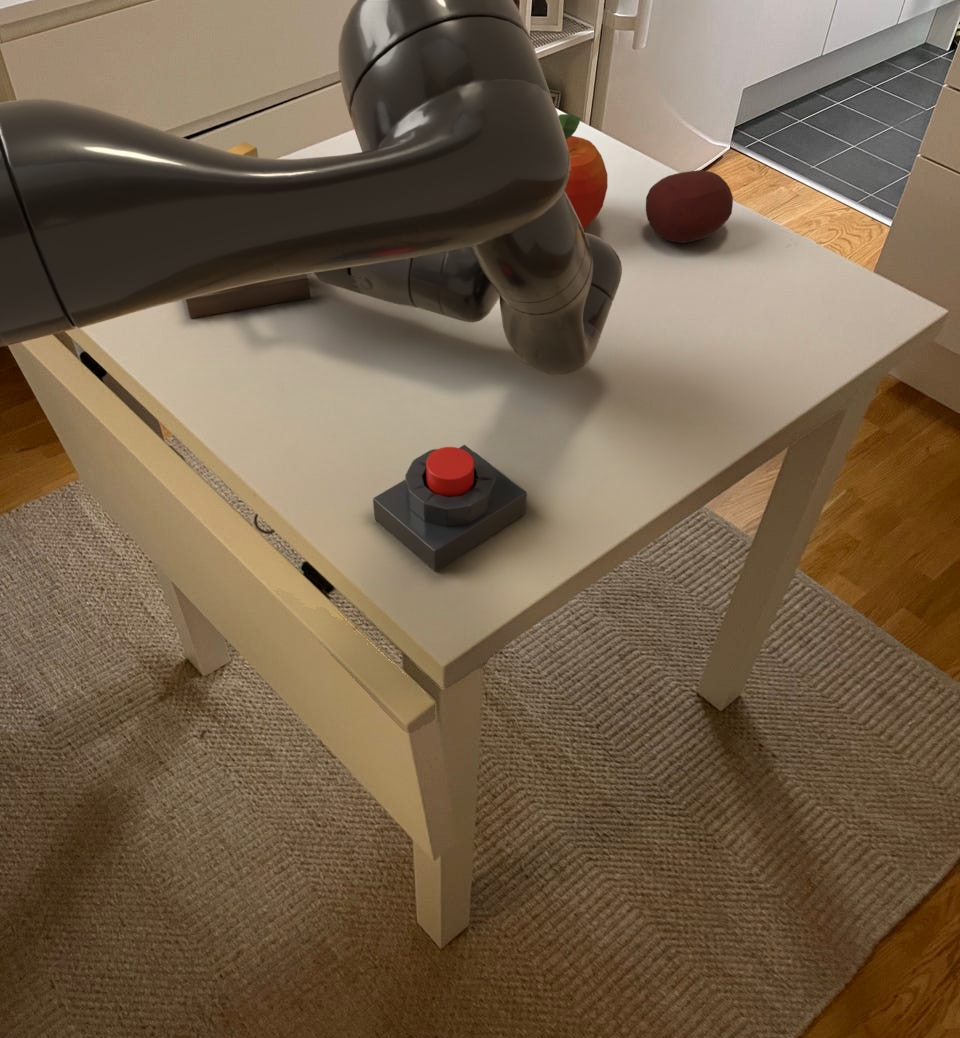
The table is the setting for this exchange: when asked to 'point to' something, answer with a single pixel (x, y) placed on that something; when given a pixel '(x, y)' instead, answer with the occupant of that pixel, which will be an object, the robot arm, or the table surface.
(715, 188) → the potato
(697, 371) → the table surface
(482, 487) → the button block
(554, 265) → the robot arm
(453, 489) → the button
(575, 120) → the fruit
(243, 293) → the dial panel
